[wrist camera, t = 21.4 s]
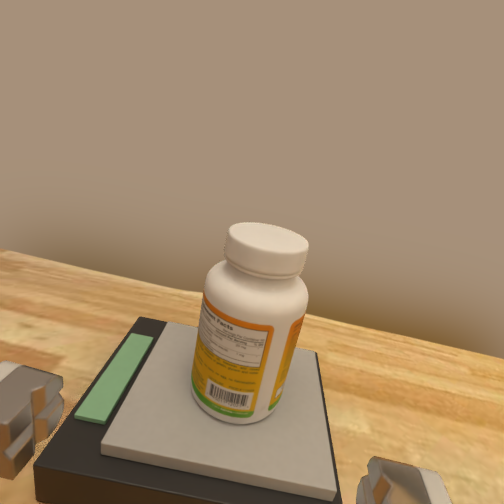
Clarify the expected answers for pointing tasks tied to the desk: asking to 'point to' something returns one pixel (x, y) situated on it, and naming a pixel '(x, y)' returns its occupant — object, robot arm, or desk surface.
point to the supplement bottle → (249, 323)
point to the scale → (186, 435)
